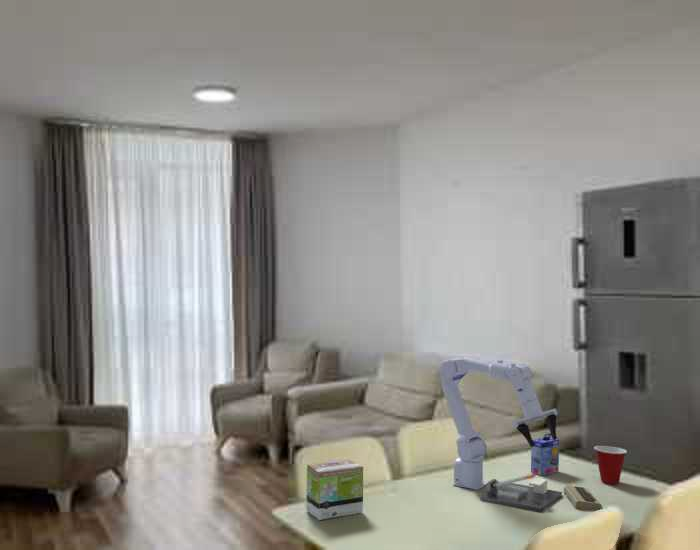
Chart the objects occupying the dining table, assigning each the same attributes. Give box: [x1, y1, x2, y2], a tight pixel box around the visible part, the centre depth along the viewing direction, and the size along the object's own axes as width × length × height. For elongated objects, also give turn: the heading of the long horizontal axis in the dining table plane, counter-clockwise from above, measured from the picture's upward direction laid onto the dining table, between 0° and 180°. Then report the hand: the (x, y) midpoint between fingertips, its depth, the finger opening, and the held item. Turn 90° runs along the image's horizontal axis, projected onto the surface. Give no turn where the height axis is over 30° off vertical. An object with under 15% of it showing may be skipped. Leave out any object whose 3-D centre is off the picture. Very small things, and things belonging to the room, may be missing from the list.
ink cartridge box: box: [530, 432, 560, 477], centre depth 259 cm, size 10×6×14 cm, turn 125°
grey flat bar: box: [492, 473, 537, 488], centre depth 231 cm, size 15×4×1 cm, turn 54°
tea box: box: [305, 458, 364, 521], centre depth 219 cm, size 15×10×15 cm, turn 117°
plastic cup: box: [593, 445, 628, 486], centre depth 247 cm, size 11×11×12 cm
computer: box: [562, 485, 602, 510], centre depth 228 cm, size 16×8×3 cm, turn 177°
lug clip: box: [528, 477, 548, 494], centre depth 232 cm, size 4×6×4 cm, turn 144°
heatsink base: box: [480, 478, 563, 513], centre depth 231 cm, size 20×19×4 cm
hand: (543, 443), depth 226 cm, fingers open, 7 cm apart
